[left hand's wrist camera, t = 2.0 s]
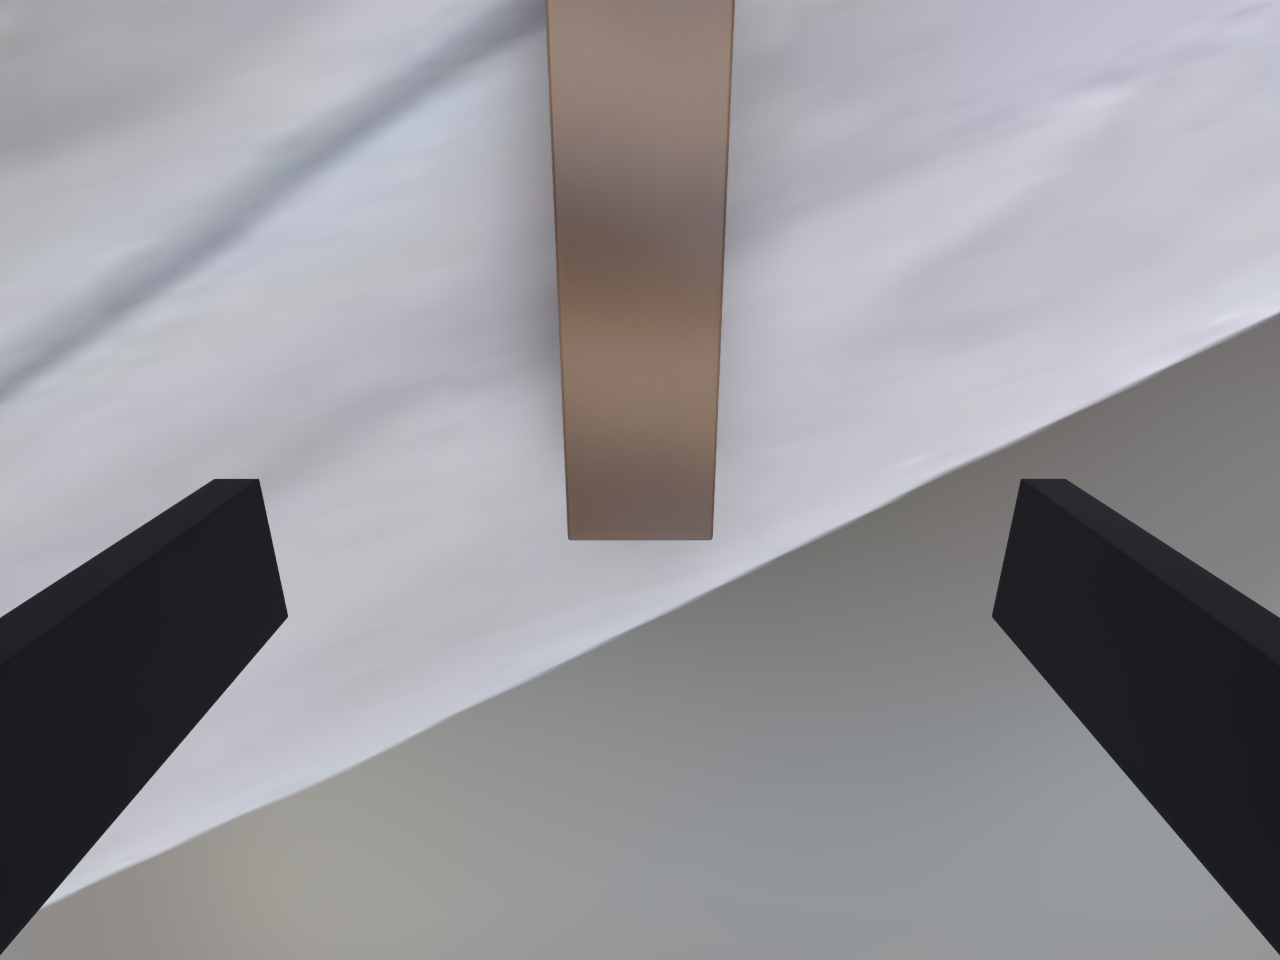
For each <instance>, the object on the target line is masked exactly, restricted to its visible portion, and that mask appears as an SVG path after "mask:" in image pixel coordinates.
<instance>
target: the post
mask: <svg viewBox="0 0 1280 960" xmlns="http://www.w3.org/2000/svg"><path fill="white" fill-rule="evenodd" d="M545 3H546V27H547V51H548V75H549V98H550V122H551V146H552V170H553V193H554V217H555V241H556V265H557V289H558V312H559V336H560V360H561V384H562V408H563V431H564V455H565V479H566V503H567V527H568V539H569V540H712V538H713V516H714V492H715V467H716V443H717V419H718V395H719V370H720V346H721V322H722V297H723V273H724V249H725V225H726V200H727V176H728V152H729V127H730V103H731V79H732V55H733V30H734V6H735V0H545Z"/></svg>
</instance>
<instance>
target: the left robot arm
mask: <svg viewBox="0 0 1280 960" xmlns="http://www.w3.org/2000/svg"><path fill="white" fill-rule="evenodd" d="M287 617H288V614H287V609H286V604H285V599H284V595H283V590H282V585H281V581H280V576H279V571H278V566H277V562H276V557H275V552H274V548H273V543H272V538H271V533H270V529H269V524H268V519H267V514H266V510H265V505H264V500H263V496H262V491H261V486H260V481H259V479H214V480H212V481H211V482H209V483H208V484H206V485H205V486H203V487H201V488H200V489H198V490H197V491H195V492H194V493H192V494H191V495H189V496H188V497H186V498H184V499H183V500H181V501H180V502H178V503H177V504H175V505H174V506H172V507H171V508H169V509H167V510H166V511H164V512H163V513H161V514H160V515H158V516H157V517H155V518H154V519H152V520H151V521H149V522H147V523H146V524H144V525H143V526H141V527H140V528H138V529H137V530H135V531H134V532H132V533H130V534H129V535H127V536H126V537H124V538H123V539H121V540H120V541H118V542H117V543H115V544H113V545H112V546H110V547H109V548H107V549H106V550H104V551H103V552H101V553H100V554H98V555H97V556H95V557H93V558H92V559H90V560H89V561H87V562H86V563H84V564H83V565H81V566H80V567H78V568H76V569H75V570H73V571H72V572H70V573H69V574H67V575H66V576H64V577H63V578H61V579H59V580H58V581H56V582H55V583H53V584H52V585H50V586H49V587H47V588H46V589H44V590H43V591H41V592H39V593H38V594H36V595H35V596H33V597H32V598H30V599H29V600H27V601H26V602H24V603H22V604H21V605H19V606H18V607H16V608H15V609H13V610H12V611H10V612H9V613H7V614H5V615H4V616H2V617H1V618H0V955H1V954H2V952H3V951H4V950H5V949H6V948H7V947H8V945H9V944H10V943H11V942H12V941H13V939H14V938H15V937H16V936H17V935H18V934H19V932H20V931H21V930H22V929H23V928H24V927H25V925H26V924H27V923H28V922H29V921H30V919H31V918H32V917H33V916H34V915H35V914H36V912H37V911H38V910H39V909H40V908H41V907H42V905H43V904H44V903H45V902H46V901H47V899H48V898H49V897H50V896H51V895H52V894H53V892H54V891H55V890H56V889H57V888H58V887H59V885H60V884H61V883H62V882H63V881H64V880H65V878H66V877H67V876H68V875H69V874H70V872H71V871H72V870H73V869H74V868H75V867H76V865H77V864H78V863H79V862H80V861H81V860H82V858H83V857H84V856H85V855H86V854H87V852H88V851H89V850H90V849H91V848H92V847H93V845H94V844H95V843H96V842H97V841H98V840H99V838H100V837H101V836H102V835H103V834H104V833H105V831H106V830H107V829H108V828H109V827H110V825H111V824H112V823H113V822H114V821H115V820H116V818H117V817H118V816H119V815H120V814H121V813H122V811H123V810H124V809H125V808H126V807H127V805H128V804H129V803H130V802H131V801H132V800H133V798H134V797H135V796H136V795H137V794H138V793H139V791H140V790H141V789H142V788H143V787H144V786H145V784H146V783H147V782H148V781H149V780H150V778H151V777H152V776H153V775H154V774H155V773H156V771H157V770H158V769H159V768H160V767H161V766H162V764H163V763H164V762H165V761H166V760H167V758H168V757H169V756H170V755H171V754H172V753H173V751H174V750H175V749H176V748H177V747H178V746H179V744H180V743H181V742H182V741H183V740H184V739H185V737H186V736H187V735H188V734H189V733H190V731H191V730H192V729H193V728H194V727H195V726H196V724H197V723H198V722H199V721H200V720H201V719H202V717H203V716H204V715H205V714H206V713H207V711H208V710H209V709H210V708H211V707H212V706H213V704H214V703H215V702H216V701H217V700H218V699H219V697H220V696H221V695H222V694H223V693H224V691H225V690H226V689H227V688H228V687H229V686H230V684H231V683H232V682H233V681H234V680H235V679H236V677H237V676H238V675H239V674H240V673H241V672H242V670H243V669H244V668H245V667H246V666H247V664H248V663H249V662H250V661H251V660H252V659H253V657H254V656H255V655H256V654H257V653H258V652H259V650H260V649H261V648H262V647H263V646H264V644H265V643H266V642H267V641H268V640H269V639H270V637H271V636H272V635H273V634H274V633H275V632H276V630H277V629H278V628H279V627H280V626H281V625H282V623H283V622H284V621H285V620H286V619H287ZM992 617H993V619H994V620H995V621H996V622H997V623H998V624H999V626H1000V627H1001V628H1002V629H1003V630H1004V632H1005V633H1006V634H1007V635H1008V636H1009V637H1010V639H1011V640H1012V641H1013V642H1014V643H1015V644H1016V646H1017V647H1018V648H1019V649H1020V650H1021V652H1022V653H1023V654H1024V655H1025V656H1026V657H1027V659H1028V660H1029V661H1030V662H1031V663H1032V664H1033V666H1034V667H1035V668H1036V669H1037V670H1038V671H1039V673H1040V674H1041V675H1042V676H1043V677H1044V679H1045V680H1046V681H1047V682H1048V683H1049V684H1050V686H1051V687H1052V688H1053V689H1054V690H1055V691H1056V693H1057V694H1058V695H1059V696H1060V697H1061V699H1062V700H1063V701H1064V702H1065V703H1066V704H1067V706H1068V707H1069V708H1070V709H1071V710H1072V711H1073V713H1074V714H1075V715H1076V716H1077V717H1078V719H1079V720H1080V721H1081V722H1082V723H1083V724H1084V725H1085V727H1086V728H1087V729H1088V730H1089V731H1090V733H1091V734H1092V735H1093V736H1094V737H1095V738H1096V740H1097V741H1098V742H1099V743H1100V744H1101V746H1102V747H1103V748H1104V749H1105V750H1106V751H1107V753H1108V754H1109V755H1110V756H1111V757H1112V758H1113V760H1114V761H1115V762H1116V763H1117V764H1118V765H1119V767H1120V768H1121V769H1122V770H1123V771H1124V773H1125V774H1126V775H1127V776H1128V777H1129V778H1130V780H1131V781H1132V782H1133V783H1134V784H1135V785H1136V787H1137V788H1138V789H1139V790H1140V791H1141V792H1142V794H1143V795H1144V796H1145V797H1146V798H1147V800H1148V801H1149V802H1150V803H1151V804H1152V805H1153V807H1154V808H1155V809H1156V810H1157V811H1158V813H1159V814H1160V815H1161V816H1162V817H1163V818H1164V820H1165V821H1166V822H1167V823H1168V824H1169V825H1170V827H1171V828H1172V829H1173V830H1174V831H1175V833H1176V834H1177V835H1178V836H1179V837H1180V838H1181V839H1182V841H1183V842H1184V843H1185V844H1186V845H1187V847H1188V848H1189V849H1190V850H1191V851H1192V852H1193V854H1194V855H1195V856H1196V857H1197V858H1198V860H1199V861H1200V862H1201V863H1202V864H1203V865H1204V867H1205V868H1206V869H1207V870H1208V871H1209V872H1210V874H1211V875H1212V876H1213V877H1214V878H1215V879H1216V881H1217V882H1218V883H1219V884H1220V885H1221V887H1222V888H1223V889H1224V890H1225V891H1226V892H1227V894H1228V895H1229V896H1230V897H1231V898H1232V899H1233V901H1234V902H1235V903H1236V904H1237V905H1238V906H1239V908H1240V909H1241V910H1242V911H1243V912H1244V914H1245V915H1246V916H1247V917H1248V918H1249V919H1250V921H1251V922H1252V923H1253V924H1254V925H1255V927H1256V928H1257V929H1258V930H1259V931H1260V932H1261V934H1262V935H1263V936H1264V937H1265V938H1266V939H1267V941H1268V942H1269V943H1270V944H1271V945H1272V947H1273V948H1274V949H1275V950H1276V951H1277V952H1278V954H1279V955H1280V618H1279V617H1278V616H1276V615H1275V614H1273V613H1271V612H1270V611H1268V610H1267V609H1265V608H1264V607H1262V606H1261V605H1259V604H1258V603H1256V602H1254V601H1253V600H1251V599H1250V598H1248V597H1247V596H1245V595H1244V594H1242V593H1241V592H1239V591H1237V590H1236V589H1234V588H1233V587H1231V586H1230V585H1228V584H1227V583H1225V582H1224V581H1222V580H1221V579H1219V578H1217V577H1216V576H1214V575H1213V574H1211V573H1210V572H1208V571H1207V570H1205V569H1203V568H1202V567H1200V566H1199V565H1197V564H1196V563H1194V562H1193V561H1191V560H1190V559H1188V558H1187V557H1185V556H1183V555H1182V554H1180V553H1179V552H1177V551H1176V550H1174V549H1173V548H1171V547H1170V546H1168V545H1167V544H1165V543H1163V542H1162V541H1160V540H1159V539H1157V538H1156V537H1154V536H1153V535H1151V534H1149V533H1148V532H1146V531H1145V530H1143V529H1142V528H1140V527H1139V526H1137V525H1136V524H1134V523H1133V522H1131V521H1129V520H1128V519H1126V518H1125V517H1123V516H1122V515H1120V514H1119V513H1117V512H1116V511H1114V510H1113V509H1111V508H1109V507H1108V506H1106V505H1105V504H1103V503H1102V502H1100V501H1099V500H1097V499H1095V498H1094V497H1092V496H1091V495H1089V494H1088V493H1086V492H1085V491H1083V490H1082V489H1080V488H1079V487H1077V486H1075V485H1074V484H1072V483H1071V482H1069V481H1068V480H1066V479H1021V482H1020V486H1019V491H1018V496H1017V500H1016V505H1015V510H1014V515H1013V519H1012V524H1011V529H1010V533H1009V538H1008V543H1007V548H1006V552H1005V557H1004V562H1003V567H1002V571H1001V576H1000V581H999V585H998V590H997V595H996V599H995V604H994V609H993V614H992Z"/></svg>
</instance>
